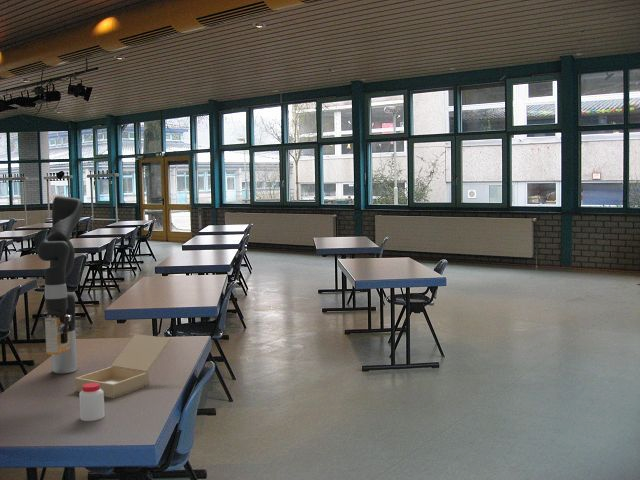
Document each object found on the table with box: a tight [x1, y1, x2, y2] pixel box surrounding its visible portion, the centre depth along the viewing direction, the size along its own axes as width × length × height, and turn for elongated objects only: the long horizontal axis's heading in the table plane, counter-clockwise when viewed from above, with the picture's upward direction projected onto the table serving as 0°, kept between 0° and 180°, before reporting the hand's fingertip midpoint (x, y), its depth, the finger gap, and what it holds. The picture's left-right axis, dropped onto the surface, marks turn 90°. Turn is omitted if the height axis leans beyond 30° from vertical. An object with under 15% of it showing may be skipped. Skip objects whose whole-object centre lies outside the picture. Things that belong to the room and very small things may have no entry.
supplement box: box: [44, 317, 70, 355], centre depth 243 cm, size 8×5×13 cm, turn 168°
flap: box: [110, 333, 172, 373], centre depth 270 cm, size 19×17×1 cm
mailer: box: [74, 366, 150, 399], centre depth 257 cm, size 20×18×5 cm
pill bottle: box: [78, 383, 106, 422], centre depth 224 cm, size 8×8×11 cm
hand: (58, 342), depth 243 cm, fingers closed on supplement box, 5 cm apart
